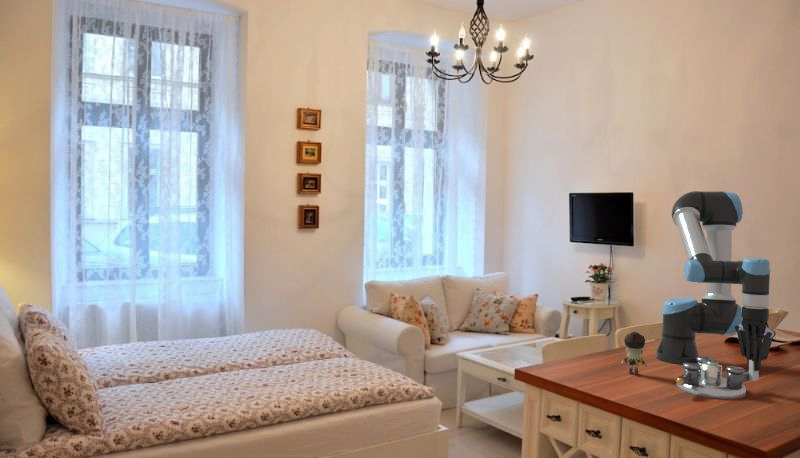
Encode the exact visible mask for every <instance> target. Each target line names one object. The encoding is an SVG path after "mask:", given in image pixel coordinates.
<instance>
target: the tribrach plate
mask: <svg viewBox="0 0 800 458" xmlns="http://www.w3.org/2000/svg"><path fill="white" fill-rule="evenodd" d="M722 372H723V364H720V363H718V364H717V363H716V362H713V361H707V362H703V363H701V377H700V376H699V384H698V385H691V384H684V385H683V386H682V385H678V384H677V383H676V387H678V389H680V390H681V391H683V392H685V393H689V394H692V395H695V396H700V397H704V398H708V399H709V398H710V399H717V400H736V399H737V400H739V399H742V398H745V397H746V394H747V387H746V385H744V384H743V385H742V389H734V388H730V387H727V377H723V376H722V375H723V373H722Z"/></svg>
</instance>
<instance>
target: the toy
mask: <svg viewBox="0 0 800 458" xmlns="http://www.w3.org/2000/svg"><path fill="white" fill-rule="evenodd" d="M645 344H646V338H645V336H644V335H642V334H640V333H639V332H638V331H632V332H630V333H628V334H626V336H624V345H625V348H624V349H625V353H626V354H627V355H626V356H625V357H624V358H623V359H622V360H621V362H620V364H622V365H623V364H626V365H628V366H629V370H628V371H629V374H630V375H632V374H633V373H634V374H635V375H638V374H639V370H638V369H639V367H638V366H639V363H641V365H642V366H643V367H645V368H647V367H648V364H647V363H646V362H645V360H644V359H643V358H642V357H641V355H643V354H644V353H643V352H644V351H645V350H644V347H645ZM633 367H634V369H633ZM633 371H634V372H633Z"/></svg>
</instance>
